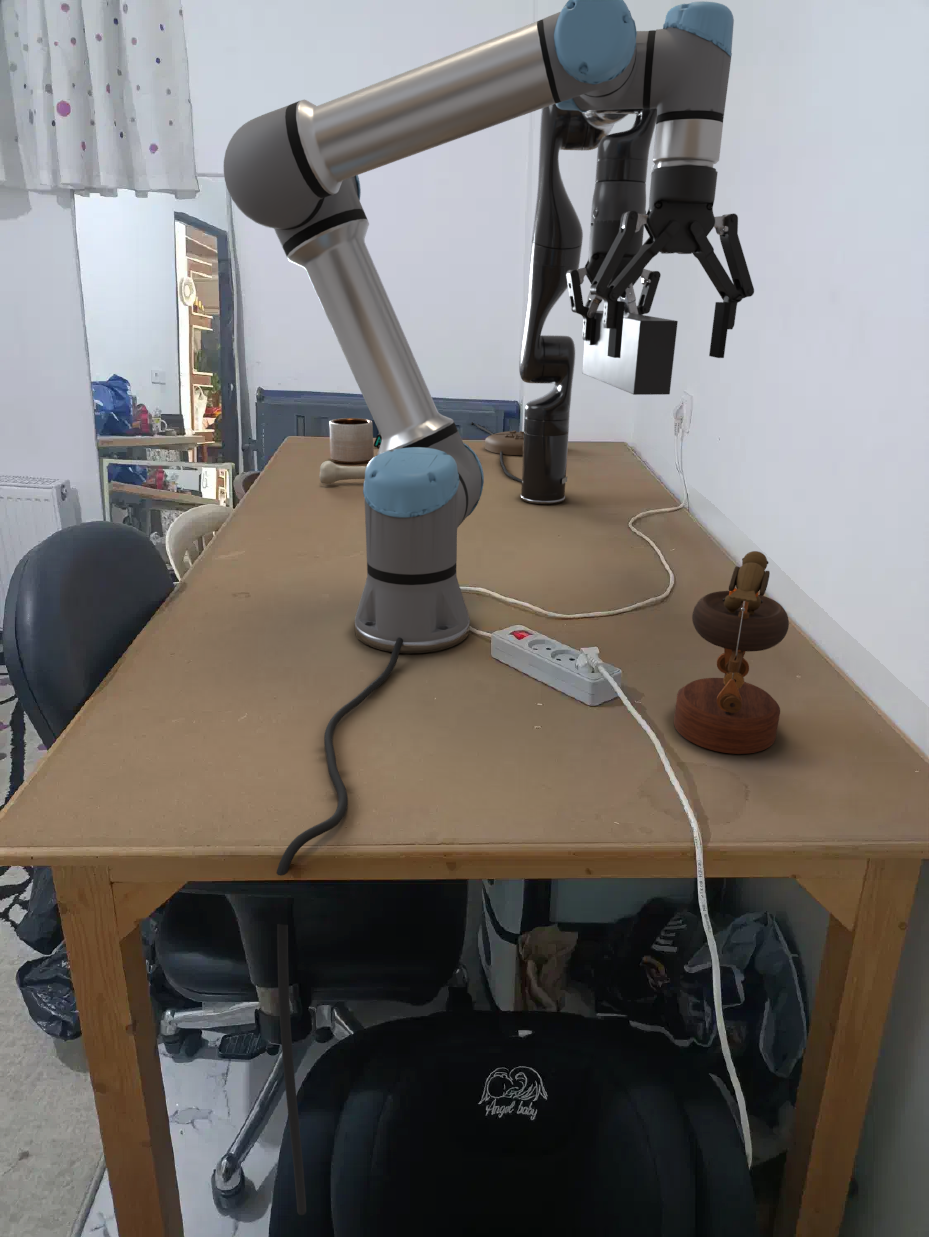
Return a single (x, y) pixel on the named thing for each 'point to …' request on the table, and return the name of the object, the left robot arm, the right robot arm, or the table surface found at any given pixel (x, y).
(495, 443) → the brown flat rounded piece
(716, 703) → the music box
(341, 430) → the planter
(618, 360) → the bar
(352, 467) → the dog toy
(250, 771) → the table surface
